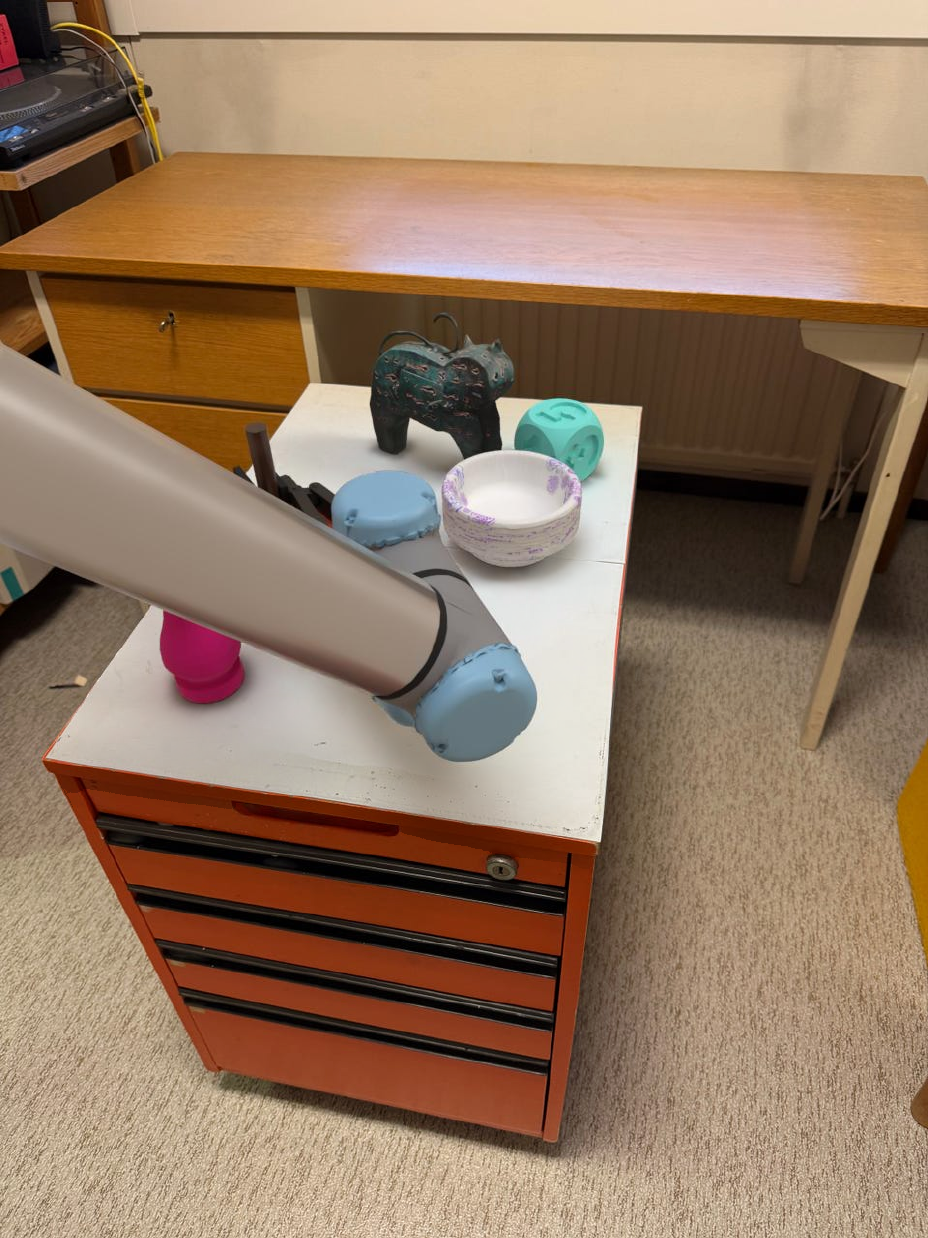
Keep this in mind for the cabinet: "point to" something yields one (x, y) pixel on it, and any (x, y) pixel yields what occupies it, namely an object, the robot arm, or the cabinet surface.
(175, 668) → the pepper mill
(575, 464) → the decorative dice
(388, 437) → the ceramic cat
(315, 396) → the cabinet surface
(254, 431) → the dowel on disc base
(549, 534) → the paper bowls
